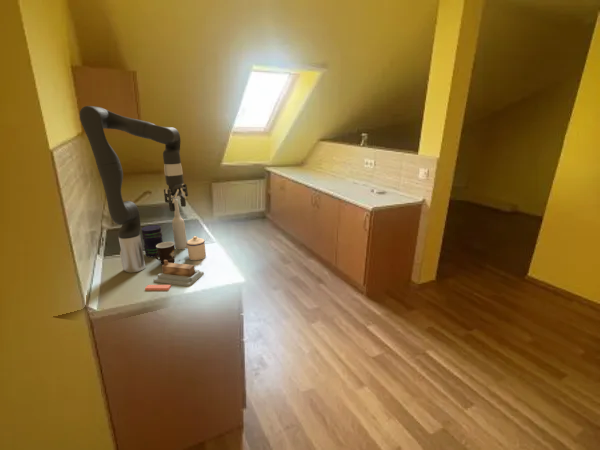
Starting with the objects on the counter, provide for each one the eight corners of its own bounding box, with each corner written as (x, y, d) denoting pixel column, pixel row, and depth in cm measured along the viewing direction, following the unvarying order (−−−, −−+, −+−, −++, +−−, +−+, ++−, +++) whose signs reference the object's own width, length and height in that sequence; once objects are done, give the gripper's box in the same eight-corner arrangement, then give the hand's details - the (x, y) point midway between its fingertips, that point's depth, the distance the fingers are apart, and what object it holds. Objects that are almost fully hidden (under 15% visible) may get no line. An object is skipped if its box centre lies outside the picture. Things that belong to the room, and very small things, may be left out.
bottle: (175, 250, 183) (169, 201, 174) (174, 246, 188) (168, 199, 180) (188, 248, 185) (182, 200, 177) (186, 244, 191) (180, 197, 182)
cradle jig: (153, 281, 147) (153, 276, 146) (170, 270, 158) (169, 265, 157) (189, 286, 143) (188, 280, 142) (203, 274, 154) (203, 268, 153)
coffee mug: (171, 258, 172) (168, 240, 169) (180, 262, 167) (177, 244, 164) (149, 265, 164) (146, 247, 161) (158, 270, 158) (155, 251, 155)
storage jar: (141, 256, 175) (136, 229, 171) (152, 249, 184) (148, 224, 180) (157, 257, 173) (153, 231, 169) (168, 251, 182) (165, 225, 178)
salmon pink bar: (145, 291, 140) (144, 288, 139) (148, 287, 143) (148, 284, 142) (168, 291, 140) (168, 288, 139) (171, 287, 142) (170, 284, 142)
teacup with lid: (209, 256, 174) (207, 235, 171) (196, 262, 167) (193, 240, 164) (194, 251, 181) (192, 231, 177) (181, 257, 174) (178, 236, 170)
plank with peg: (163, 275, 150) (161, 261, 148) (168, 272, 154) (166, 258, 151) (190, 279, 147) (188, 264, 144) (195, 275, 150) (193, 261, 148)
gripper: (175, 171, 154) (180, 204, 159) (156, 175, 141) (161, 212, 146) (190, 171, 152) (193, 205, 157) (171, 176, 139) (176, 213, 144)
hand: (178, 208), depth 151 cm, fingers open, 8 cm apart
